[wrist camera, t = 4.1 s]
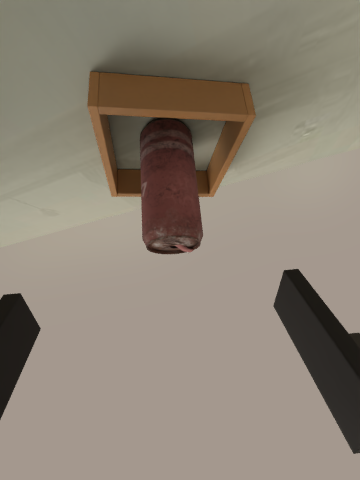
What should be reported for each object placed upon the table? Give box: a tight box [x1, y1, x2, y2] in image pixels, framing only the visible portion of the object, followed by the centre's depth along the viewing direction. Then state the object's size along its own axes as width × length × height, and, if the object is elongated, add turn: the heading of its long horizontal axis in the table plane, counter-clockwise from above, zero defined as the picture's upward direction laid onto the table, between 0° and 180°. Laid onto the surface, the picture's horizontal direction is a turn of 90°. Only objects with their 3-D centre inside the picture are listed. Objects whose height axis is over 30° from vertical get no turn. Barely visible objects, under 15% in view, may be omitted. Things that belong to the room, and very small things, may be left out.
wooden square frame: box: [88, 72, 256, 197], centre depth 28 cm, size 15×15×4 cm
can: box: [140, 118, 203, 254], centre depth 26 cm, size 6×6×14 cm
